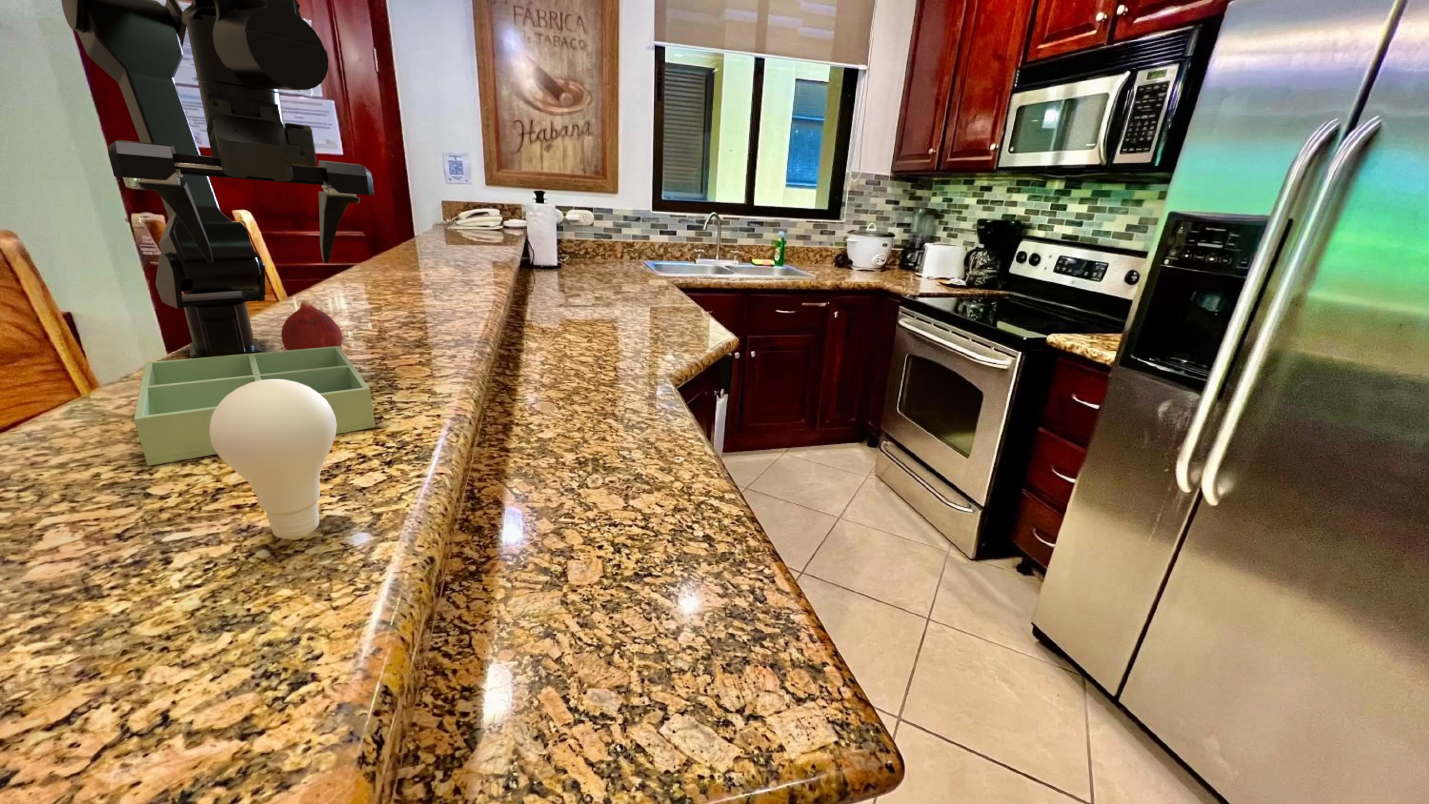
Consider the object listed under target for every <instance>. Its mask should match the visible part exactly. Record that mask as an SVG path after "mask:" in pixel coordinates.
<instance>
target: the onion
mask: <svg viewBox="0 0 1429 804" xmlns="http://www.w3.org/2000/svg"><path fill="white" fill-rule="evenodd" d="M280 333H281V335H280V336H281V343H282V345H283V346H284V349H286V351H287V350H299V349H311V348H323V347H335V346H339V347H340V348H341V347H342V345H343V333H342V330H341V328H340V326H339V325H338V323H336V322H335V320H334V318H332V317H331V316H330V315H328V314H327V313H326V312H324V311H323V310H321V309H318V307H317V308H316V307H315V306H314V305H312V304H311V302H310V301H308V300H307V299H302V300H301V302H300V306H299V309H298V310H296V311H294V312H293V313H291V314H290V315H289V316H288V317H287V318H286V320H285V321H284V322H283V325H282V326H281V332H280Z"/></svg>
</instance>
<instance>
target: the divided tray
mask: <svg viewBox="0 0 1429 804" xmlns="http://www.w3.org/2000/svg"><path fill="white" fill-rule="evenodd" d="M142 372H143V373H142V376H141V381H140V387H139V391H138V397H137V401H136V407H135V412H134V416H133V422H134V425H135V428H136V432H137V435H138V438H139V443H140V445H141V449H142V452H143V455H144V459H145V461H146V466H148V467H149V466H156V465H161V464H167V463H172V462H173V463H174V462H178V461H179V462H180V461H185V460H190V459H195V458H203V457H208V456H213V455H218V454H217V452H216V451H215V449H214V448H213V446H212V444H211V440H210V421H211V417H212V414H213V413H214V411H215V409H216V408H217V406H218V405H219V403H220V402H221V401H222V400H223V399H224V398H225V397H226V396H227V395H228V394H230V393H231V392H233V391H234V390H236V389H237V388H239V387H241V386H244V385H246V384H248V383H251V382H255V381H259V380H266V379H284V380H289V381H294V382H298V383H301V384H303V385H306V386H308V387H310V388H312V389H313V390H315V391H316V392H318V393H319V394H320V395H321V396H322V397H324V398H325V399H326V400H327V402H328V403H329V405H330V406H331V408H332V410H333V413H334V415H335V417H336V423H337V427H336V435H337V434H344V433H349V432H357V431H361V430H362V431H363V430H367V429H373V428H376V423H375V417H374V409H373V401H372V394H371V393H372V392H371V388H370V386H369V385H368V384H367V382H366V381H365V380H364V378H363V377H362V376H361V374H360V372H359V371H358V370H357V369H356V367H355V366H354V365H353V363H352V362H351V360H350V359H349V357H348V356H347V355H346V353H345V352H344V350H343V349H342V348H341V347H339V346H335V347H323V348H311V349H299V350H287V349H286V350H276V351H266V352H262V353H252V354H240V355H228V356H216V357H204V358H192V359H190V358H182V359H170V360H157V361H146V362H145V363H144V366H143V371H142Z"/></svg>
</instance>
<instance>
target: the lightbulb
mask: <svg viewBox="0 0 1429 804" xmlns="http://www.w3.org/2000/svg"><path fill="white" fill-rule="evenodd" d="M336 427H337V423H336V417H335V415H334V413H333V410H332V408H331V406H330V405H329V403H328V402H327V400H326V399H325V398H324V397H322V396H321V395H320V394H319V393H318V392H316V391H315V390H313V389H312V388H310V387H308V386H306V385H303V384H301V383H298V382H294V381H289V380H284V379H266V380H259V381H255V382H251V383H248V384H246V385H244V386H241V387H239V388H237V389H236V390H234V391H233V392H231V393H230V394H228V395H227V396H226V397H225V398H224V399H223V400H222V401H221V402H220V403H219V405H218V406H217V408H216V409H215V411H214V413H213V414H212V417H211V421H210V440H211V444H212V446H213V448H214V449H215V451H216V452H217V454H216V455H217V456H218V457H219V458H220V460H222V461H223V462H224V463H225V464H226V465H227V466H228V467H230V469H232V471H234V472H236V473H237V474H238V475H239V476H240V477H242V478H243V479H245V481H246V482H247V483H248V485H250V487H251V488H252V491H253V492H254V494H255V496H256V498H257V502H258V505H259V506H260V509H261V510H262V511H263V512H265V513H266V517H267V519H268V523H269V527H270V529H271V532H272V534H273V536H275V537H277V538H279V539H282V540H291V541H297V540H301V539H303V538H305V537H307V536H308V535H309V534H311V533H312V532H315V530H316V529H317V528H318V527H319V526H320V515H319V514H320V510H319V505H318V501H319V499H320V496H321V485H320V479H321V472H322V469H323V466H324V463H325V461H326V459H327V457H328V455H329V454H330V452H331V449H332V446H333V444H334V442H335V439H336V435H337V434H336Z"/></svg>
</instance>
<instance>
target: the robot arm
mask: <svg viewBox="0 0 1429 804" xmlns="http://www.w3.org/2000/svg"><path fill="white" fill-rule="evenodd" d="M60 2H61V7H62V12H63V14H64V18H65V20H66V22H67V24H68V27H69V28H70V29H71V30H72V31H75V32H77V35H78V37H79V40H80V42H81V44H82V45H83V49H84V51H85V53H86V55H87V56H88V58H89V59H91V60H92V61H93V62H94V63H95V64H96V65H97V66H99V68H100V69H102V70H103V71H104V72H105V73H106V74H107V75H109V76H110V78H112V79H113V80H114V81H115V82H116V83H117V84H118V86H119V88H120V91H121V93H122V94H121V95H122V96H123V99H124V102H125V104H126V107H127V109H128V112H129V115H130V119H131V120H132V123H133V126H134V128H135V131H136V135H137V137H138V139H139V141H133V140H125V139H124V140H123V139H119V140H113V142H112V143H111V144H109V145H108V146H107V154H108V159H109V162H110V166H111V170H112V174H113V177H118V178H128V179H139V181H138V183H137V184H138V187H139V189H140V190H145V191H153V192H156V193H157V195H159V196H160V199H161V202H162V204H163V207H164V209H165V212H166V215H167V218H168V219H167V222H166V225H165V228H164V230H163V232H162V235H161V237H160V239H159V242H158V247H159V249H160V252H161V253H159V256H158V264H157V269H156V277H155V287H156V290H157V293H158V295H159V298H160V300H161V303H164V304H165V305H168V306H170V307H172V308H174V309H176V310H178V309H179V310H180V309H184V314H185V317H186V321H187V325H188V329H189V333H190V337H191V341H192V342H190V343H189V359H192V358H204V357H216V356H228V355H240V354H252V353H263V352H262V348H261V345H260V342H259V339H258V338H256V337H254V332H253V328H252V323H251V322H252V321H251V318H250V313H249V308H248V304H247V303H249V302H250V303H251V302H265V301H266V295H267V294H266V264H265V262H264V261H262V257H261V256H260V254H259V253H258V252H257V251H255V249H254V246H253V243H252V241H251V238H250V237H251V236H250V234H249V231H248V228H247V227H246V226H245V225H244V224H243V223H242V222H241V221H233V220H232V219H231V218H229V217H228V216H227V215H226V214H224V213H223V212H222V210H221V208H220V206H219V203H218V200H217V197H216V195H215V192H214V188H213V186H212V183H211V180H210V177H211V178H212V177H213V178H222V179H223V178H225V179H237V180H251V181H262V182H263V181H265V182H275V183H286V184H287V183H288V184H300V185H311V186H313V185H314V186H321V188H322V189H323V191H318V212H319V213H318V214H319V215H318V216H319V247H320V253H321V258H322V262H323V263H324V264H329V263H330V259H331V256H332V251H333V247H334V244H335V239H336V234H337V231H338V227H339V225H340V222H341V220H342V217H343V215H344V213H345V211H346V210H347V208H348V206H349V205H350V204H359V203H360V202H361V198H360V197H358V196H357V195H362V196H374V195H375V190H374V180H373V176H372V172H371V171H370V170H369V169H368V168H367V167H366V166H365V165H363V164H358V163H350V162H340V161H330V160H321V159H318V163H317V155H316V147H315V141H314V140H315V139H314V133H313V129H312V127H311V126H310V125H307V124H300V123H294V122H293V123H291V122H285V120H284V113H283V106H282V101H281V94H280V90H281V91H283V90H284V91H285V90H286V91H309V90H312V89H315V88H317V87H318V86H320V85H321V84H322V83H323V82H324V80H325V79H326V78H327V74H328V71H329V56H328V51H327V50H326V49H325V46H324V45H323V42H322V39H321V38H320V37H319V35H318V34H317V32H316V31H315V30H314V28H313V27H312V26H311V25H310V24H309V23H308V22H307V21H306V20H305V19H304V18H303V17H302V14H301V12H300V7H301V6H300V3H299V2H298V0H192V1H191V3H190V5H189V6H187V7H186V8H184V9H182V7H181V4H180V3H179V1H178V0H165V4H164V5H162V3H161V2H159V1H158V0H60ZM186 32H187V34H188V39H189V44H190V49H191V53H192V59H193V64H194V69H195V73H196V78H197V85H198V89H199V94H200V98H201V105H202V109H203V114H204V119H205V125H206V133H207V138H208V144H209V148H210V153H211V155H201V152H200V149H199V147H198V144H197V141H196V138H195V135H194V133H193V129H192V128H191V124H190V121H189V118H188V116H187V113H186V111H185V110H186V109H185V106H184V104H183V101H182V99H181V96H180V93H179V91H178V87H177V85H176V82H175V76H176V74H177V72H178V69H179V67H180V65H181V62H182V60H183V58H184V50H183V47H184V43H185V42H184V41H185V36H186ZM317 165H318V166H317ZM182 292H183V293H184V294H183V293H182Z"/></svg>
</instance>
